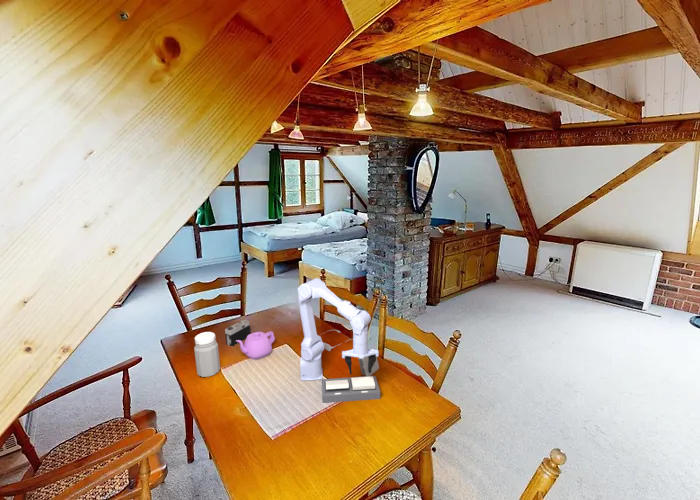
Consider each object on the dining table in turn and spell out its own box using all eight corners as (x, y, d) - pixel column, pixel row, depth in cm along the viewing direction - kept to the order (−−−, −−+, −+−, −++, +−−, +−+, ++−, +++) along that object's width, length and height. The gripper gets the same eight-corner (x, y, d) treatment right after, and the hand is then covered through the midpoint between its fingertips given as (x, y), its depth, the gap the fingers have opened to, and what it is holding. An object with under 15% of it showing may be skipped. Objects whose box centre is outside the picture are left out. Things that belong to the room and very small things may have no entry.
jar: (224, 372, 153) (220, 335, 148) (203, 381, 146) (198, 344, 142) (214, 363, 159) (210, 328, 155) (193, 372, 152) (188, 336, 148)
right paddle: (352, 390, 136) (352, 386, 135) (351, 381, 141) (351, 377, 141) (375, 388, 137) (375, 385, 136) (372, 379, 142) (372, 376, 141)
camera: (242, 332, 189) (241, 316, 187) (252, 337, 184) (251, 321, 182) (220, 342, 179) (218, 325, 176) (230, 348, 173) (229, 331, 171)
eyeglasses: (313, 342, 180) (313, 335, 179) (339, 331, 191) (339, 325, 190) (331, 354, 168) (331, 346, 167) (358, 342, 180) (358, 335, 179)
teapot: (231, 355, 166) (230, 335, 164) (268, 342, 179) (267, 322, 177) (243, 367, 157) (241, 345, 154) (281, 351, 170) (280, 331, 167)
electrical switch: (367, 378, 148) (366, 358, 146) (358, 375, 151) (356, 355, 150) (379, 368, 155) (378, 350, 154) (370, 365, 158) (369, 347, 157)
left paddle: (326, 389, 134) (325, 385, 135) (325, 385, 140) (325, 381, 140) (348, 387, 135) (348, 383, 136) (347, 383, 141) (347, 379, 141)
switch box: (322, 402, 132) (322, 396, 132) (321, 385, 143) (321, 379, 142) (380, 398, 135) (380, 392, 134) (375, 382, 145) (375, 375, 145)
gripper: (342, 347, 129) (342, 379, 132) (380, 346, 130) (379, 377, 133) (341, 338, 135) (341, 368, 139) (377, 337, 137) (376, 366, 140)
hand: (359, 372), depth 136 cm, fingers open, 7 cm apart
